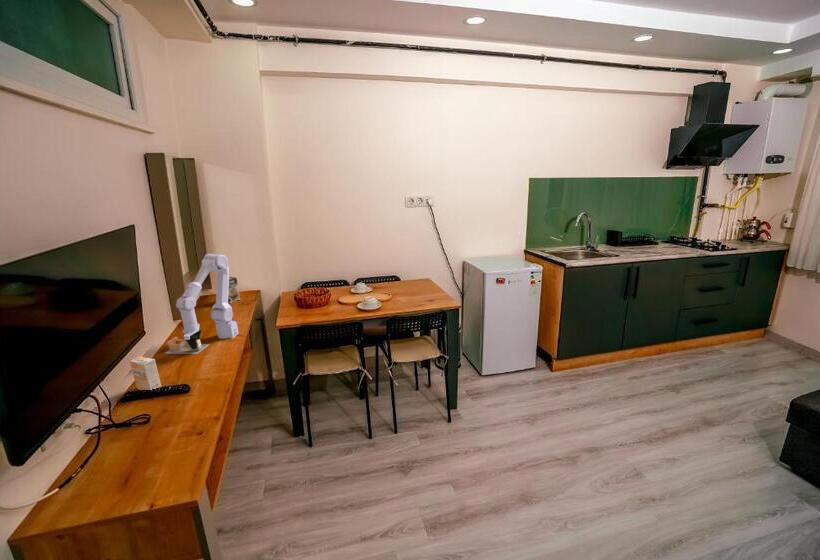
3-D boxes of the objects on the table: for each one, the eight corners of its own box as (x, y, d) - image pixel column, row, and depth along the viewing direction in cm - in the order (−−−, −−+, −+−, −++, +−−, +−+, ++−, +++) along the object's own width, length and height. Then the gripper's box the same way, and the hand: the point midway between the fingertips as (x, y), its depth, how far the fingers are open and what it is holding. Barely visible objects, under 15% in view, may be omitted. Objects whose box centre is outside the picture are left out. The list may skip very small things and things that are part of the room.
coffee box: (228, 304, 244) (224, 281, 240) (222, 303, 248) (218, 280, 243) (240, 300, 252) (236, 277, 247) (234, 299, 255) (230, 276, 250)
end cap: (187, 344, 187) (185, 336, 186) (179, 350, 181) (177, 342, 180) (177, 344, 187) (175, 336, 186) (168, 350, 182) (166, 342, 180)
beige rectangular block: (201, 346, 183) (199, 339, 182) (199, 349, 180) (197, 341, 179) (183, 348, 181) (182, 341, 180) (181, 351, 179) (179, 344, 177)
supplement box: (136, 390, 150) (128, 361, 147) (148, 383, 155) (140, 355, 151) (151, 393, 148) (143, 364, 144) (162, 387, 152) (155, 358, 148)
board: (210, 345, 187) (210, 344, 187) (198, 355, 178) (197, 353, 178) (178, 345, 189) (178, 343, 188) (164, 354, 179) (164, 353, 179)
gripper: (186, 316, 183) (192, 341, 187) (174, 328, 169) (180, 355, 173) (201, 314, 184) (207, 339, 188) (191, 326, 170) (197, 353, 174)
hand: (195, 347), depth 181 cm, fingers closed on beige rectangular block, 3 cm apart
